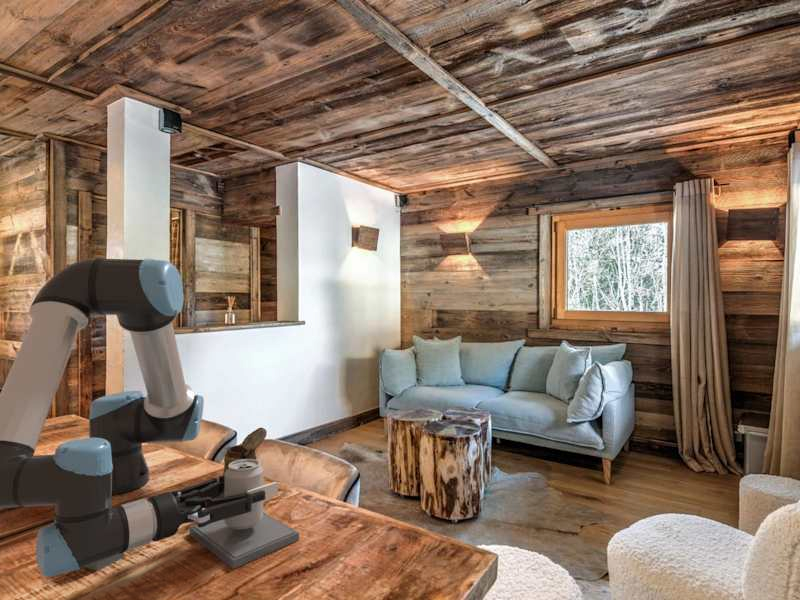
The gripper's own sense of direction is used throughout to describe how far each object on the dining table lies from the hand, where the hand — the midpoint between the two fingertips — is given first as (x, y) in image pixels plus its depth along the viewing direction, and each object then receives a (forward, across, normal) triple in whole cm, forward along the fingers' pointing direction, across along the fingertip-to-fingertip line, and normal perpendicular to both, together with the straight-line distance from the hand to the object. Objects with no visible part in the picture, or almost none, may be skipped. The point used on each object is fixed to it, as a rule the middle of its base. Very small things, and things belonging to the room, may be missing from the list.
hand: (265, 483), depth 99 cm
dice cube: (-27, -11, -10) cm, 31 cm away
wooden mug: (+5, -18, -10) cm, 21 cm away
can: (-5, 0, -7) cm, 8 cm away
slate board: (-5, 0, -10) cm, 11 cm away
